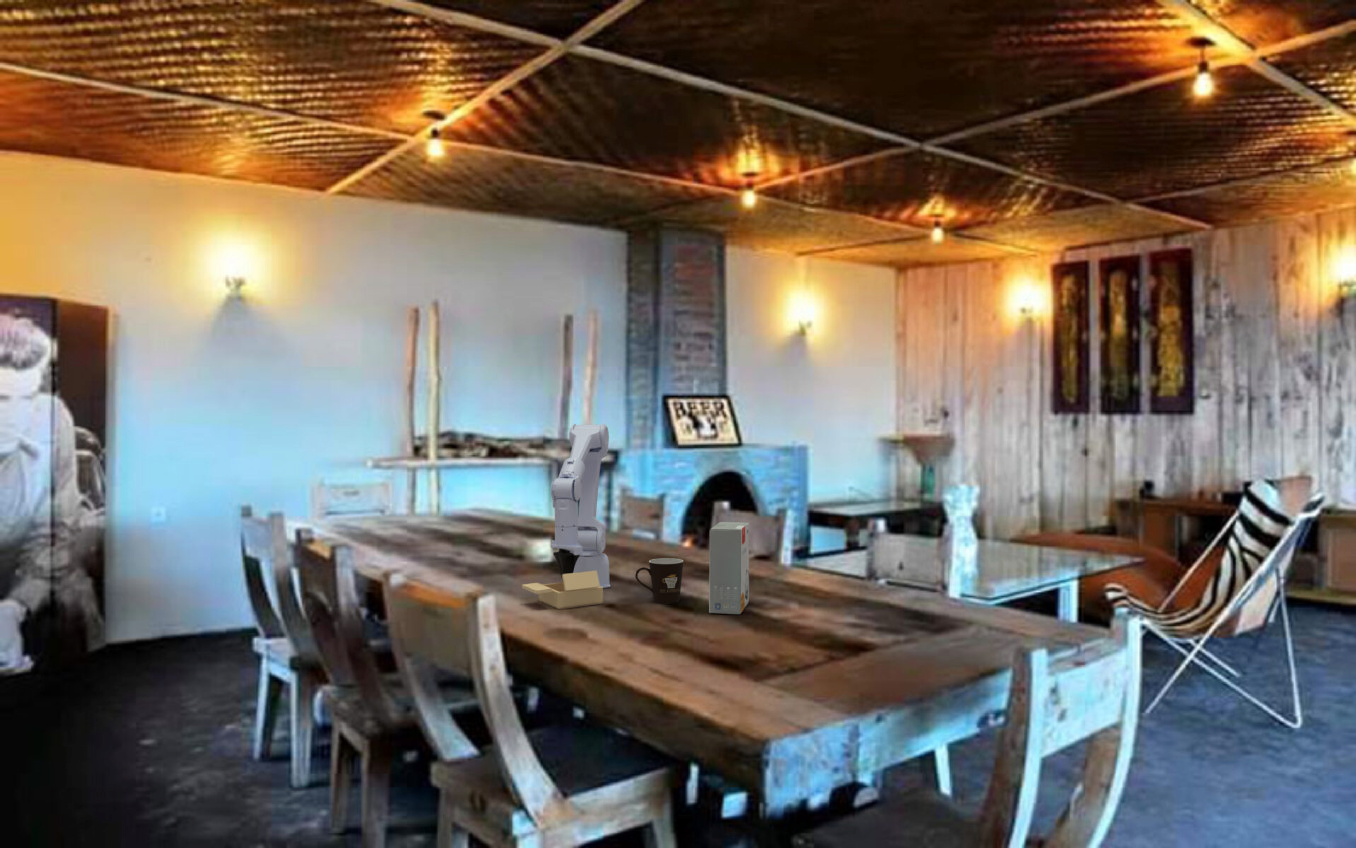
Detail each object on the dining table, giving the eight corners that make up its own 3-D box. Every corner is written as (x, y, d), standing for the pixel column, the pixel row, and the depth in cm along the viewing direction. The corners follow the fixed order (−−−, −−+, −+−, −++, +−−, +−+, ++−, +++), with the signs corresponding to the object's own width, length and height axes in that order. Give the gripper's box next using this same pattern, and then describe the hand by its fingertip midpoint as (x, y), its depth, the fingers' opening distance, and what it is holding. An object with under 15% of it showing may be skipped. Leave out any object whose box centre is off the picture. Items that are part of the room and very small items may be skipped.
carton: (582, 595, 243) (581, 580, 243) (603, 603, 233) (602, 587, 232) (538, 600, 237) (538, 584, 236) (558, 609, 226) (558, 592, 226)
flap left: (595, 571, 232) (596, 570, 232) (598, 587, 231) (599, 586, 230) (561, 575, 228) (563, 574, 227) (564, 591, 226) (566, 590, 226)
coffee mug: (685, 597, 239) (685, 558, 239) (682, 604, 230) (681, 564, 230) (639, 597, 240) (639, 558, 240) (635, 604, 232) (634, 563, 231)
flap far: (521, 584, 233) (522, 587, 233) (536, 590, 225) (536, 594, 225) (537, 582, 235) (537, 585, 235) (551, 588, 227) (551, 591, 227)
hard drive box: (741, 615, 218) (740, 529, 218) (708, 614, 220) (708, 529, 219) (749, 601, 234) (749, 521, 233) (719, 600, 235) (718, 520, 235)
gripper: (540, 524, 240) (540, 577, 240) (563, 530, 228) (564, 586, 228) (565, 522, 244) (566, 574, 244) (590, 528, 231) (590, 583, 232)
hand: (566, 580), depth 236 cm, fingers closed
